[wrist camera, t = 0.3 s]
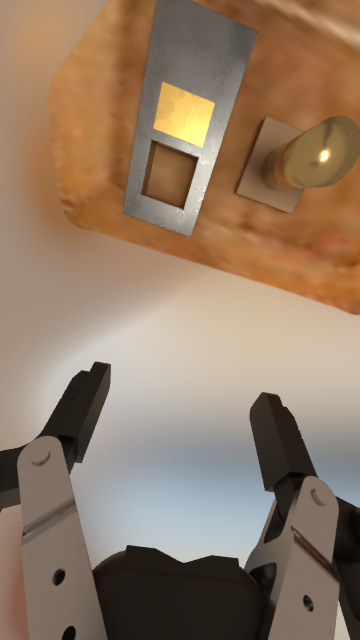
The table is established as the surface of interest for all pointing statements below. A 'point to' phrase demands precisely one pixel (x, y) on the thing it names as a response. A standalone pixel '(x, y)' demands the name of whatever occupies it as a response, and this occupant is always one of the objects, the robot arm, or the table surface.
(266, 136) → the pad
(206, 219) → the table surface
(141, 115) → the rack plate
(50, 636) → the robot arm
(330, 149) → the peg
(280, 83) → the table surface
